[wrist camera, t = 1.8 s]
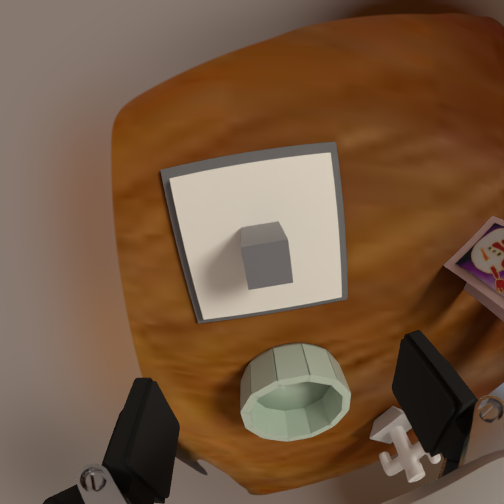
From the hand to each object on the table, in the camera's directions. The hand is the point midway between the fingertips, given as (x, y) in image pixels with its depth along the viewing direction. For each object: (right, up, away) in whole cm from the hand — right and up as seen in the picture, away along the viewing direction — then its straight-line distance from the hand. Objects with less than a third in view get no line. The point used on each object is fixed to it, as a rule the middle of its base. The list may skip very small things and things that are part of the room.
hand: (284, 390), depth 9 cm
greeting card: (+30, +5, +21) cm, 36 cm away
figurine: (+23, -24, +30) cm, 45 cm away
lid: (0, +6, +18) cm, 20 cm away
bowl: (+4, -12, +25) cm, 28 cm away
